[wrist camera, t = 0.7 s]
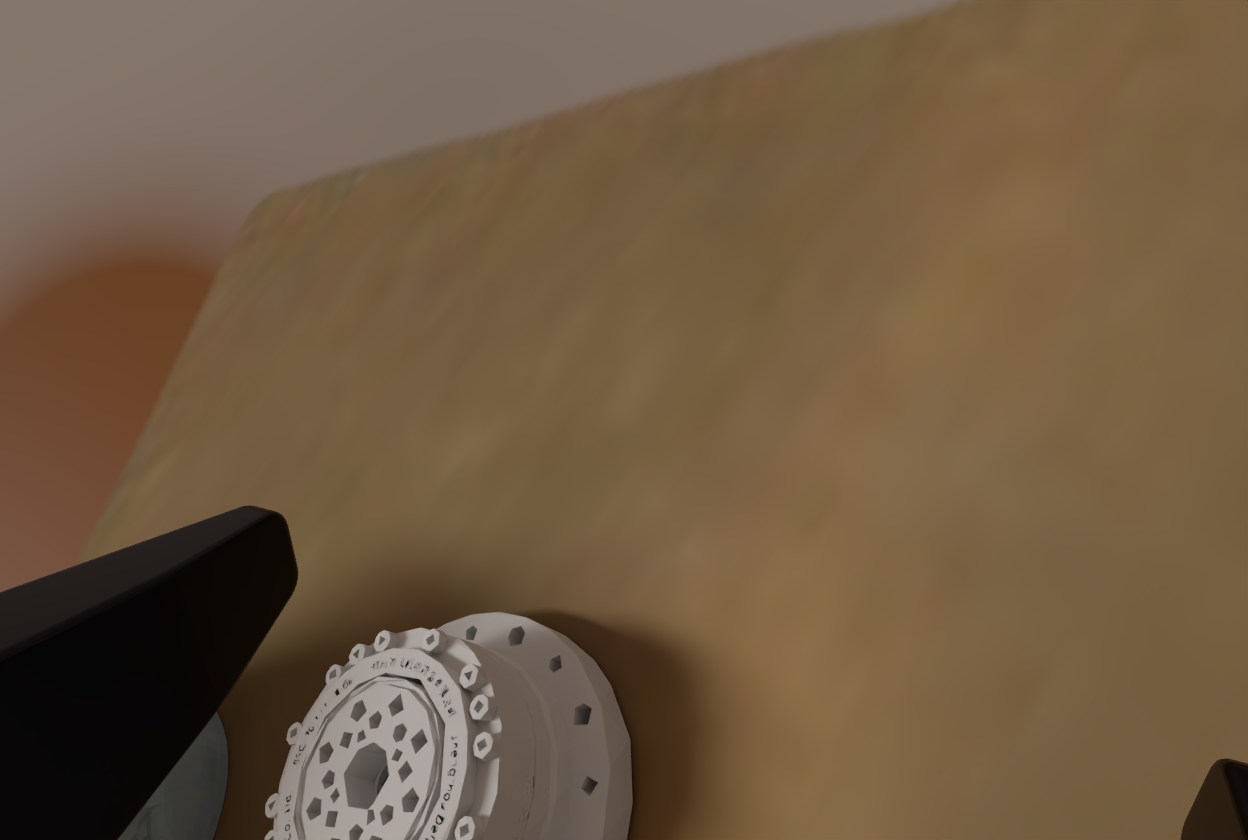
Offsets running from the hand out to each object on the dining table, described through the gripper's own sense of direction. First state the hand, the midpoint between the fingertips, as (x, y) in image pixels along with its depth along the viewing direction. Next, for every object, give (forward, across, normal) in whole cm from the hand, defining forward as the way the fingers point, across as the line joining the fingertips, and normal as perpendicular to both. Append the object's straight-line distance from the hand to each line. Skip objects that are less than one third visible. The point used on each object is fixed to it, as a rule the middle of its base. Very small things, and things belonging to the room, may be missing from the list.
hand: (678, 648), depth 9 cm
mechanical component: (+8, +7, +16) cm, 19 cm away
